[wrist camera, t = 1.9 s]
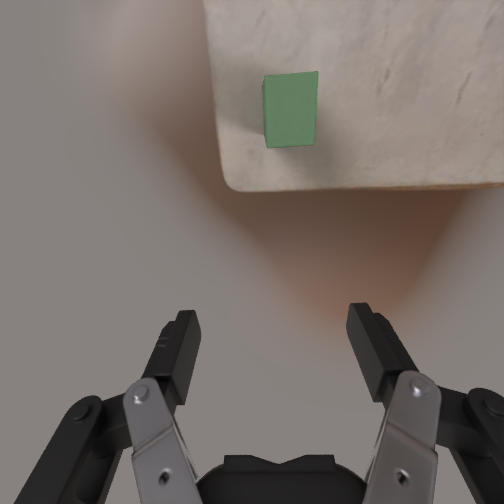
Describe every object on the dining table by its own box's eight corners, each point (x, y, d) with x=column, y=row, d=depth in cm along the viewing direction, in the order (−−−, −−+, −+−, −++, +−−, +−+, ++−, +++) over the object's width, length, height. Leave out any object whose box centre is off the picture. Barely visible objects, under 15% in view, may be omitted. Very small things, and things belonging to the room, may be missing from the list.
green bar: (264, 136, 29) (266, 148, 20) (262, 85, 26) (264, 75, 18) (297, 133, 29) (314, 145, 20) (299, 82, 26) (318, 70, 17)
